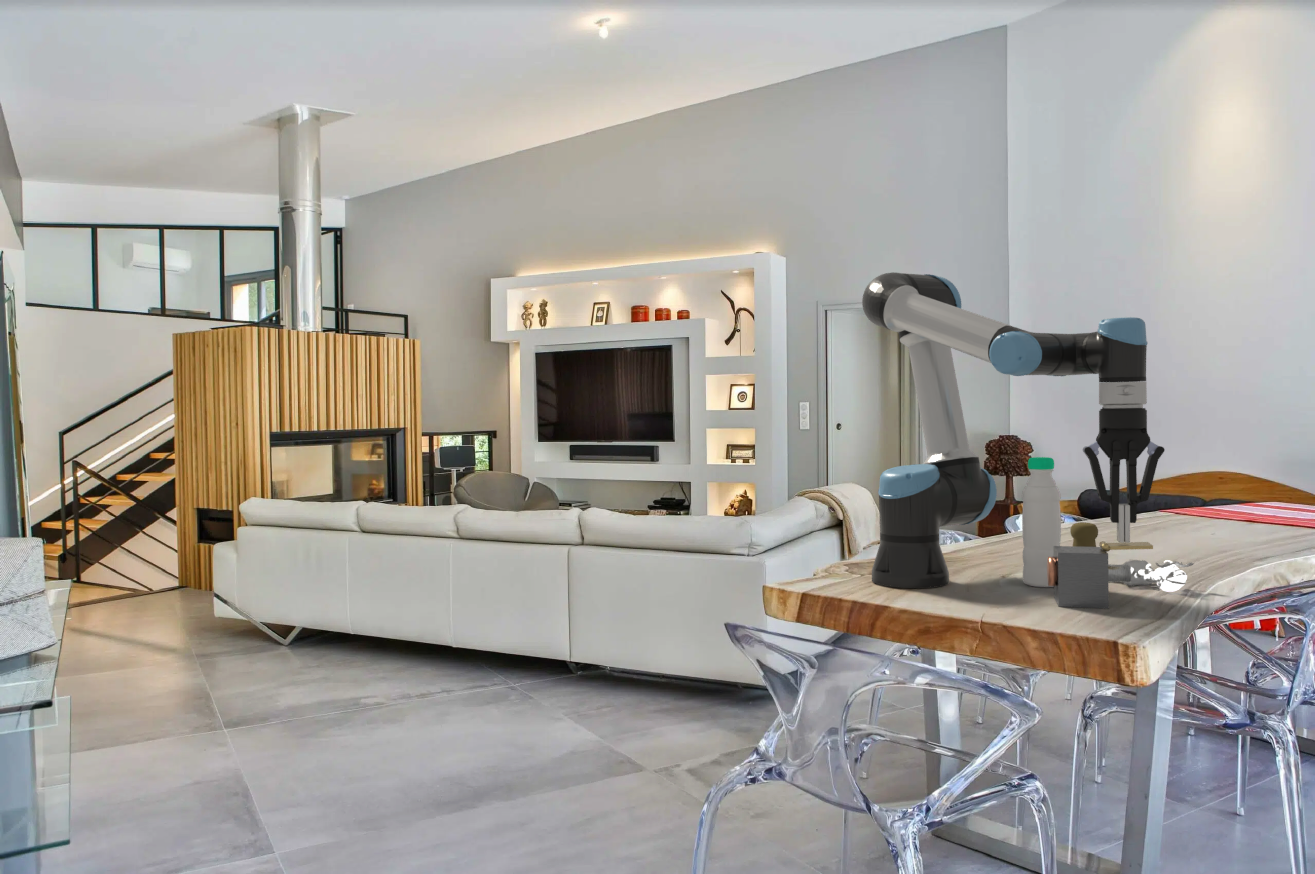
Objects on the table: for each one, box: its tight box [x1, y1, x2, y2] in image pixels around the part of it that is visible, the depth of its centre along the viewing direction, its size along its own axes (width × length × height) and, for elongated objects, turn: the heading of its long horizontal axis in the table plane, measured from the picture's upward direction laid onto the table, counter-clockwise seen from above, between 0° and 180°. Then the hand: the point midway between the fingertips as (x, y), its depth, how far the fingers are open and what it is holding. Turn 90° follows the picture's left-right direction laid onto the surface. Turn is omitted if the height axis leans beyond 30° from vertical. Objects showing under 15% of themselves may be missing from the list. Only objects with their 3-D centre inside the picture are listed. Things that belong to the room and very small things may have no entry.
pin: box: [1047, 557, 1131, 586], centre depth 169 cm, size 13×5×5 cm, turn 73°
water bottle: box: [1021, 456, 1062, 588], centre depth 187 cm, size 7×7×25 cm
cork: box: [1070, 521, 1099, 547], centre depth 195 cm, size 6×6×11 cm
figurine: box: [1122, 559, 1195, 593], centre depth 181 cm, size 9×6×12 cm
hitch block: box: [1053, 545, 1110, 609], centre depth 170 cm, size 8×8×10 cm
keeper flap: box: [1098, 540, 1154, 553], centre depth 167 cm, size 8×4×1 cm, turn 73°
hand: (1123, 541), depth 167 cm, fingers closed
